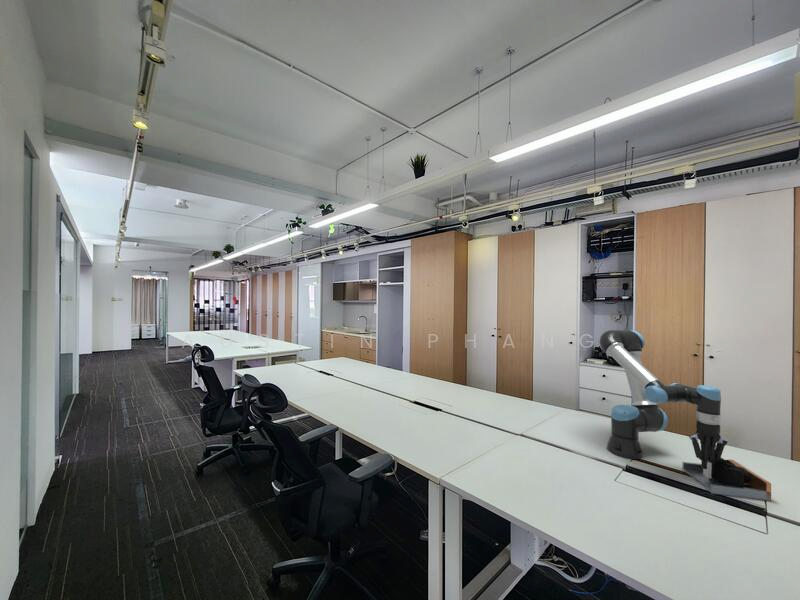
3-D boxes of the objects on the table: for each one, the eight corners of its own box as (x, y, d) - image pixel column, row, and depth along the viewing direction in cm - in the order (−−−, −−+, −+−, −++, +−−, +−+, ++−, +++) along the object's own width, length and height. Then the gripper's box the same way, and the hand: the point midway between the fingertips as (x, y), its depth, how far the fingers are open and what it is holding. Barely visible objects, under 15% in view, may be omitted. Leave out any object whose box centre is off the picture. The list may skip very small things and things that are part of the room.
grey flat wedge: (712, 493, 131) (712, 476, 131) (682, 469, 149) (682, 454, 149) (771, 501, 126) (771, 483, 126) (732, 475, 145) (732, 459, 145)
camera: (763, 494, 128) (763, 470, 128) (733, 492, 130) (733, 468, 130) (732, 476, 142) (732, 453, 142) (705, 474, 144) (705, 451, 144)
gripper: (696, 423, 137) (695, 478, 137) (732, 427, 134) (731, 483, 134) (685, 417, 144) (684, 469, 144) (719, 420, 141) (718, 474, 141)
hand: (707, 476), depth 139 cm, fingers closed
